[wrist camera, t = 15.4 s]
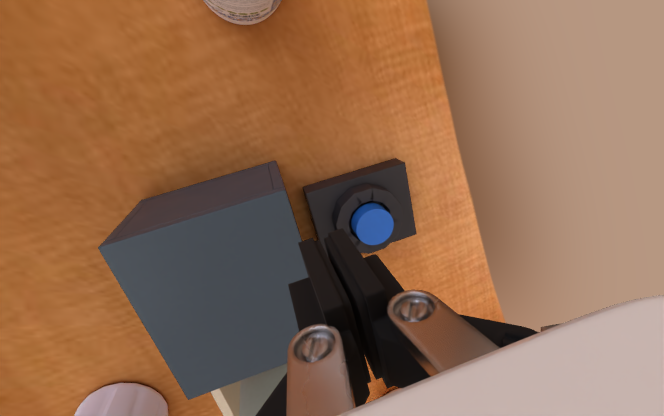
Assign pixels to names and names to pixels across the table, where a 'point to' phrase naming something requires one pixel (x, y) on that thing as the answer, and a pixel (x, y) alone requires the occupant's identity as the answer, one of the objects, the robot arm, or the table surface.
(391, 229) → the button
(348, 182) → the panel
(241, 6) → the bath foam
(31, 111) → the table surface
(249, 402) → the drawer
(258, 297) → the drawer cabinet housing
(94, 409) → the soap bottle
